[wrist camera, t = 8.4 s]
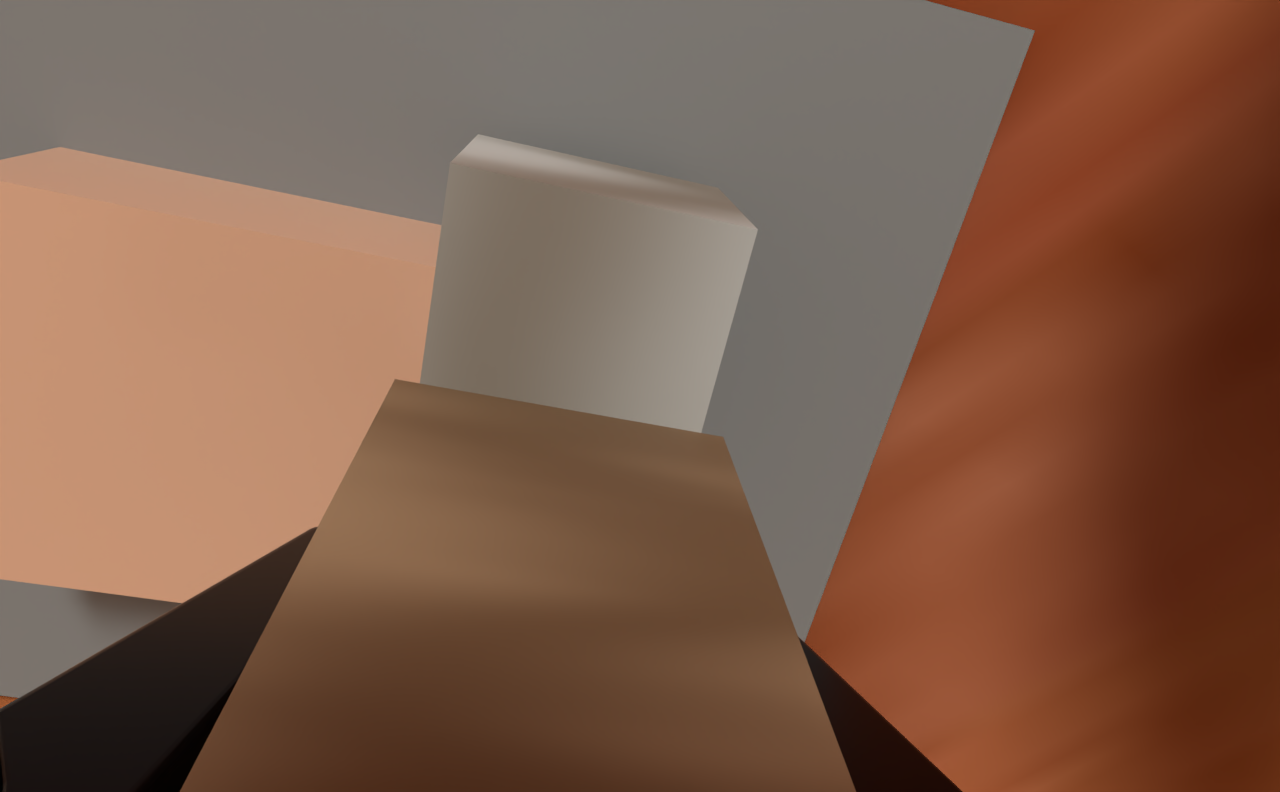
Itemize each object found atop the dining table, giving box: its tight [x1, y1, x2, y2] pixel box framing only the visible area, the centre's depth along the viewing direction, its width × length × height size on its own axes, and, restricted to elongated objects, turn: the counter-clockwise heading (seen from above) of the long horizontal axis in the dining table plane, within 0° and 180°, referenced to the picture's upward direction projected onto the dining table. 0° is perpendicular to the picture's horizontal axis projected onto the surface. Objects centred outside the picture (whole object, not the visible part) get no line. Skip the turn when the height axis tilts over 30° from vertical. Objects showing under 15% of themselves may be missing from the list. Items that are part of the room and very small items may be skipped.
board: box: [0, 0, 1035, 698], centre depth 11 cm, size 22×13×1 cm, turn 77°
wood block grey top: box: [180, 134, 856, 792], centre depth 8 cm, size 4×8×9 cm, turn 167°
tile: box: [0, 147, 441, 603], centre depth 11 cm, size 5×5×2 cm
